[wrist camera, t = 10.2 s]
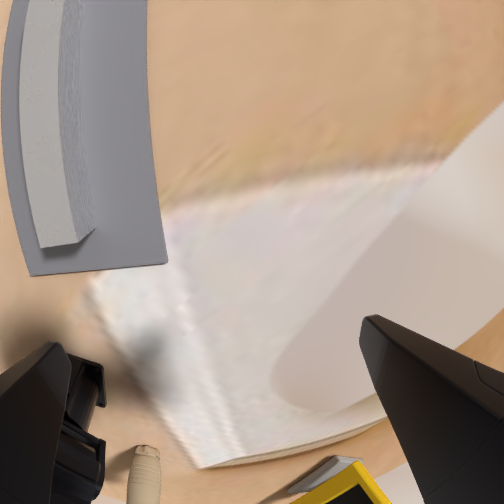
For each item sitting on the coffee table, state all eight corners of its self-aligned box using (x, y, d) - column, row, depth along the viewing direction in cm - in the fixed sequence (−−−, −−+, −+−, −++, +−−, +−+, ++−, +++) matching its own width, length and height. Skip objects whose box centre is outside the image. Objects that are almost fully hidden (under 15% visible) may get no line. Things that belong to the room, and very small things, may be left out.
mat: (168, 260, 19) (167, 263, 19) (32, 273, 18) (30, 275, 18) (151, -54, 10) (150, -57, 10) (16, -1, 9) (13, -3, 9)
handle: (150, 436, 27) (141, 549, 13) (176, 459, 29) (175, 558, 16) (118, 438, 27) (102, 542, 13) (146, 461, 29) (139, 554, 16)
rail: (96, 226, 17) (78, 242, 14) (61, 232, 17) (40, 248, 14) (86, -14, 10) (70, -30, 8) (51, 0, 10) (32, -12, 7)
